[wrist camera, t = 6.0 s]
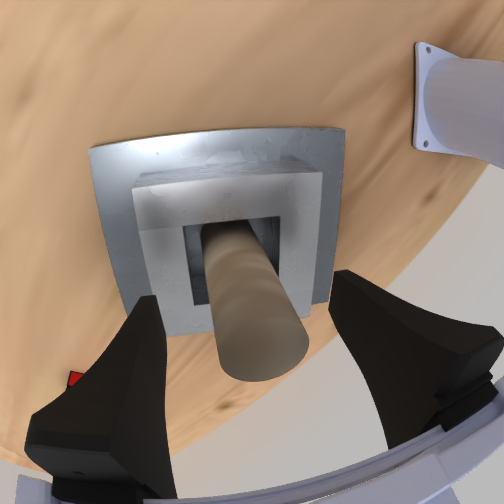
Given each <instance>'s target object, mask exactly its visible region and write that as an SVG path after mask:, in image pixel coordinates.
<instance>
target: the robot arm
mask: <svg viewBox="0 0 504 504" xmlns="http://www.w3.org/2000/svg"><path fill="white" fill-rule="evenodd" d="M426 48H427V50H428V52H427V51H426ZM415 50H416V102H415V122H414V136H413V146H414V148H415V149H418V150H422V151H431V152H440V153H448V154H455V155H462V156H469V157H475V158H477V159H480V160H482V161H485V162H487V163H490V164H492V165H495V166H497V167H500V168H502V169H504V62H503V61H494V60H482V59H465V58H460V57H458V56H456V55H454V54H451V53H449V52H447V51H444V50H442V49H440V48H437V47H435V46H432V45H430V44H427V43H425V42H417V43H416V46H415ZM424 141H425V145H423V144H424ZM328 310H329V313H330V315H331V318H332V320H333V322H334V325H335V327H336V329H337V331H338V333H339V334H340V336H341V338H342V339H343V341H344V343H345V344H346V346H347V348H348V349H349V351H350V353H351V354H352V356H353V358H354V359H355V361H356V363H357V364H358V366H359V368H360V370H361V372H362V374H363V376H364V378H365V380H366V383H367V385H368V387H369V390H370V392H371V395H372V397H373V400H374V402H375V405H376V408H377V410H378V414H379V417H380V420H381V423H382V426H383V429H384V433H385V437H386V441H387V445H388V449H389V450H388V451H386V452H383V453H381V454H379V455H376V456H374V457H371V458H369V459H367V460H364V461H361V462H359V463H356V464H353V465H350V466H348V467H345V468H342V469H339V470H336V471H333V472H330V473H326V474H323V475H320V476H316V477H313V478H309V479H306V480H302V481H298V482H294V483H290V484H286V485H281V486H277V487H272V488H267V489H262V490H257V491H251V492H244V493H238V494H231V495H222V496H213V497H203V498H187V499H178V498H177V493H176V489H175V484H174V479H173V474H172V468H171V462H170V455H169V448H168V440H167V431H166V420H165V385H166V367H167V342H166V331H165V328H164V324H163V320H162V317H161V313H160V309H159V305H158V301H157V297H156V295H148V296H141V297H140V298H139V299H138V301H137V303H136V304H135V306H134V308H133V309H132V311H131V313H130V314H129V316H128V317H127V319H126V321H125V322H124V324H123V325H122V327H121V328H120V330H119V331H118V333H117V334H116V336H115V337H114V339H113V340H112V341H111V343H110V344H109V345H108V347H107V348H106V350H105V351H104V352H103V353H102V355H101V356H100V357H99V358H98V360H97V361H96V362H95V363H94V364H93V365H92V366H91V367H90V369H89V370H87V371H86V372H85V373H84V374H83V375H82V376H81V377H80V378H79V379H78V380H77V381H76V382H75V383H74V384H73V385H72V386H71V387H70V388H69V389H67V390H66V391H65V392H64V393H63V394H61V395H60V396H59V397H58V398H56V399H55V400H54V401H52V402H51V403H49V404H48V405H46V406H45V407H43V408H42V409H40V410H39V411H38V412H36V413H34V414H33V415H32V416H31V420H30V423H29V427H28V432H27V436H26V441H25V446H24V451H25V452H26V454H27V456H28V457H29V458H30V459H31V460H32V461H33V462H34V463H36V464H37V465H38V466H40V467H41V468H42V469H44V470H45V471H46V472H48V473H49V474H51V475H52V476H53V483H49V482H47V481H44V480H41V479H36V478H32V477H28V476H25V475H21V474H20V475H18V481H17V490H16V498H15V504H299V503H303V502H307V501H311V500H314V499H317V498H321V497H324V496H327V495H330V496H327V497H324V498H321V499H319V500H317V501H314V502H312V503H310V504H460V503H459V501H458V499H457V497H456V495H455V493H454V491H453V490H452V488H451V485H452V484H454V483H455V482H456V481H458V480H459V479H461V478H462V477H463V476H465V475H466V474H467V473H469V472H470V471H472V470H473V469H474V468H475V467H477V466H478V465H479V464H481V463H482V462H483V461H484V460H485V459H487V458H488V457H489V456H490V455H491V454H493V453H494V452H495V451H496V450H497V449H498V448H499V447H501V446H502V445H503V444H504V376H503V377H502V378H500V379H499V380H498V381H497V382H496V383H495V384H494V385H493V384H492V382H491V381H490V380H491V379H492V377H493V375H492V374H491V373H490V372H489V370H490V369H491V367H492V366H493V364H494V363H495V361H496V360H497V358H498V357H499V355H500V353H501V352H502V350H503V347H504V337H503V336H502V335H501V334H500V333H499V332H498V331H497V330H496V329H495V328H494V327H493V326H485V325H478V324H471V323H467V322H462V321H458V320H454V319H450V318H447V317H444V316H441V315H438V314H435V313H432V312H429V311H427V310H424V309H422V308H419V307H417V306H414V305H412V304H410V303H408V302H406V301H404V300H402V299H400V298H398V297H396V296H394V295H392V294H391V293H389V292H387V291H385V290H383V289H382V288H380V287H378V286H376V285H375V284H373V283H371V282H369V281H368V280H366V279H364V278H363V277H361V276H359V275H357V274H355V273H353V272H351V271H349V270H340V271H334V276H333V283H332V290H331V296H330V302H329V308H328ZM396 468H397V469H396ZM394 469H395V470H394ZM387 472H388V473H387ZM385 473H386V474H385ZM383 474H384V475H383ZM378 476H379V477H378ZM376 477H377V478H376ZM371 479H372V480H371ZM369 480H370V481H369ZM366 481H367V482H366ZM364 482H365V483H364ZM361 483H362V484H361ZM359 484H360V485H359ZM356 485H357V486H356ZM353 486H354V487H353ZM351 487H352V488H351ZM348 488H349V489H348ZM345 489H346V490H345ZM342 490H343V491H342ZM340 491H341V492H340ZM337 492H338V493H337ZM333 493H335V494H333ZM331 494H333V495H331Z"/></svg>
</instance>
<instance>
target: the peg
mask: <svg viewBox="0 0 504 504" xmlns="http://www.w3.org/2000/svg"><path fill="white" fill-rule="evenodd" d="M200 239H201V247H202V254H203V262H204V269H205V276H206V282H207V289H208V295H209V302H210V308H211V314H212V320H213V326H214V332H215V338H216V344H217V350H218V355H219V361H220V365H221V367H222V369H223V370H224V371H225V372H226V373H227V374H228V375H229V376H231V377H233V378H235V379H238V380H241V381H248V382H259V381H266V380H270V379H273V378H276V377H279V376H281V375H283V374H285V373H287V372H288V371H290V370H292V369H293V368H294V367H295V366H297V365H298V364H299V363H300V361H301V360H302V359H303V358H304V356H305V354H306V352H307V350H308V347H309V338H308V334H307V332H306V330H305V328H304V326H303V324H302V322H301V321H300V319H299V317H298V315H297V313H296V311H295V309H294V307H293V305H292V303H291V301H290V299H289V297H288V295H287V293H286V291H285V290H284V288H283V286H282V284H281V282H280V280H279V278H278V276H277V274H276V272H275V270H274V268H273V266H272V265H271V263H270V261H269V259H268V257H267V255H266V253H265V251H264V249H263V247H262V245H261V243H260V242H259V240H258V238H257V236H256V234H255V232H254V230H253V228H252V226H251V224H250V223H249V221H248V220H247V219H241V220H232V221H222V222H213V223H205V224H204V225H203V227H202V230H201V234H200Z"/></svg>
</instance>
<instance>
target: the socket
mask: <svg viewBox="0 0 504 504" xmlns="http://www.w3.org/2000/svg"><path fill="white" fill-rule="evenodd" d="M344 147H345V130H344V129H340V128H329V127H250V128H230V129H215V130H202V131H191V132H182V133H173V134H165V135H157V136H150V137H143V138H136V139H130V140H124V141H118V142H113V143H107V144H102V145H97V146H93V147H91V148H89V149H88V152H89V159H90V166H91V172H92V178H93V184H94V190H95V195H96V200H97V205H98V210H99V215H100V219H101V224H102V228H103V233H104V237H105V241H106V245H107V249H108V253H109V257H110V260H111V264H112V268H113V271H114V275H115V278H116V282H117V285H118V288H119V292H120V295H121V298H122V301H123V304H124V307H125V310H126V313H127V316H129V314H130V313H131V311H132V309H133V308H134V306H135V304H136V303H137V301H138V299H139V298H140V297H141V296H148V295H156V297H157V301H158V305H159V309H160V313H161V317H162V320H163V324H164V328H165V331H166V337H172V336H181V335H190V334H198V333H206V332H214V326H213V320H212V314H211V308H210V302H209V295H208V289H207V282H206V276H205V269H204V262H203V254H202V247H201V239H200V234H201V230H202V227H203V225H204V224H205V223H213V222H222V221H232V220H241V219H247V220H248V221H249V223H250V224H251V226H252V228H253V230H254V232H255V234H256V236H257V238H258V240H259V242H260V243H261V245H262V247H263V249H264V251H265V253H266V255H267V257H268V259H269V261H270V263H271V265H272V266H273V268H274V270H275V272H276V274H277V276H278V278H279V280H280V282H281V284H282V286H283V288H284V290H285V291H286V293H287V295H288V297H289V299H290V301H291V303H292V305H293V307H294V309H295V311H296V313H297V315H298V317H299V318H303V317H308V316H310V310H311V305H313V304H318V303H323V302H328V299H329V293H330V286H331V279H332V272H333V265H334V257H335V249H336V241H337V232H338V223H339V213H340V203H341V191H342V179H343V164H344Z"/></svg>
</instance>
